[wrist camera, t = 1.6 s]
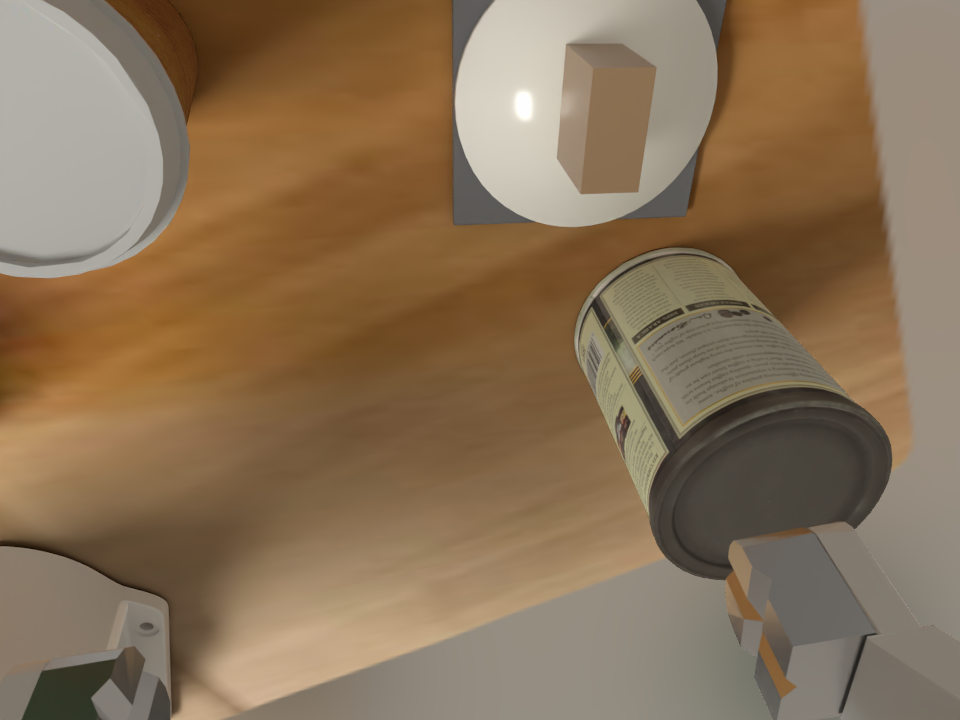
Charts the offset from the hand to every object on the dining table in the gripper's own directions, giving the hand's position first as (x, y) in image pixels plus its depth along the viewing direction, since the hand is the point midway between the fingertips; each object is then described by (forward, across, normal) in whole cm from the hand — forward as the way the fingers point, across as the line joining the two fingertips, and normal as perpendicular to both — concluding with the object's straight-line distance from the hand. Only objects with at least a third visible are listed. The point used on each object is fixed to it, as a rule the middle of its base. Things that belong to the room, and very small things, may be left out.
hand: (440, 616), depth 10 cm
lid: (+27, -8, +2) cm, 29 cm away
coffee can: (+28, -12, +16) cm, 34 cm away
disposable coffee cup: (+28, +11, -3) cm, 30 cm away
